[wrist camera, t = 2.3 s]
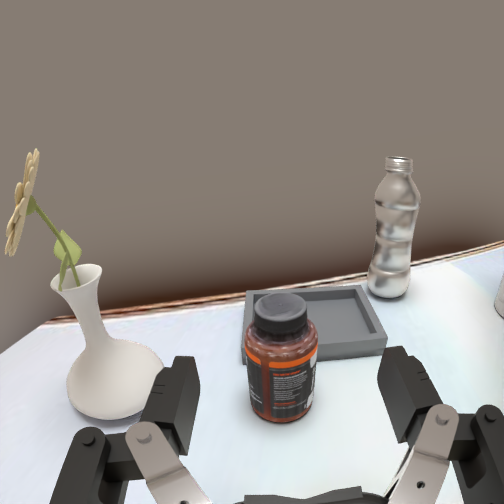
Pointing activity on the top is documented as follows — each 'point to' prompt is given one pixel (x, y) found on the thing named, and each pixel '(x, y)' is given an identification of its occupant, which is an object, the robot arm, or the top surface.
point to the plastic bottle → (394, 229)
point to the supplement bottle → (281, 357)
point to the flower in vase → (89, 325)
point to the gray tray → (333, 321)
